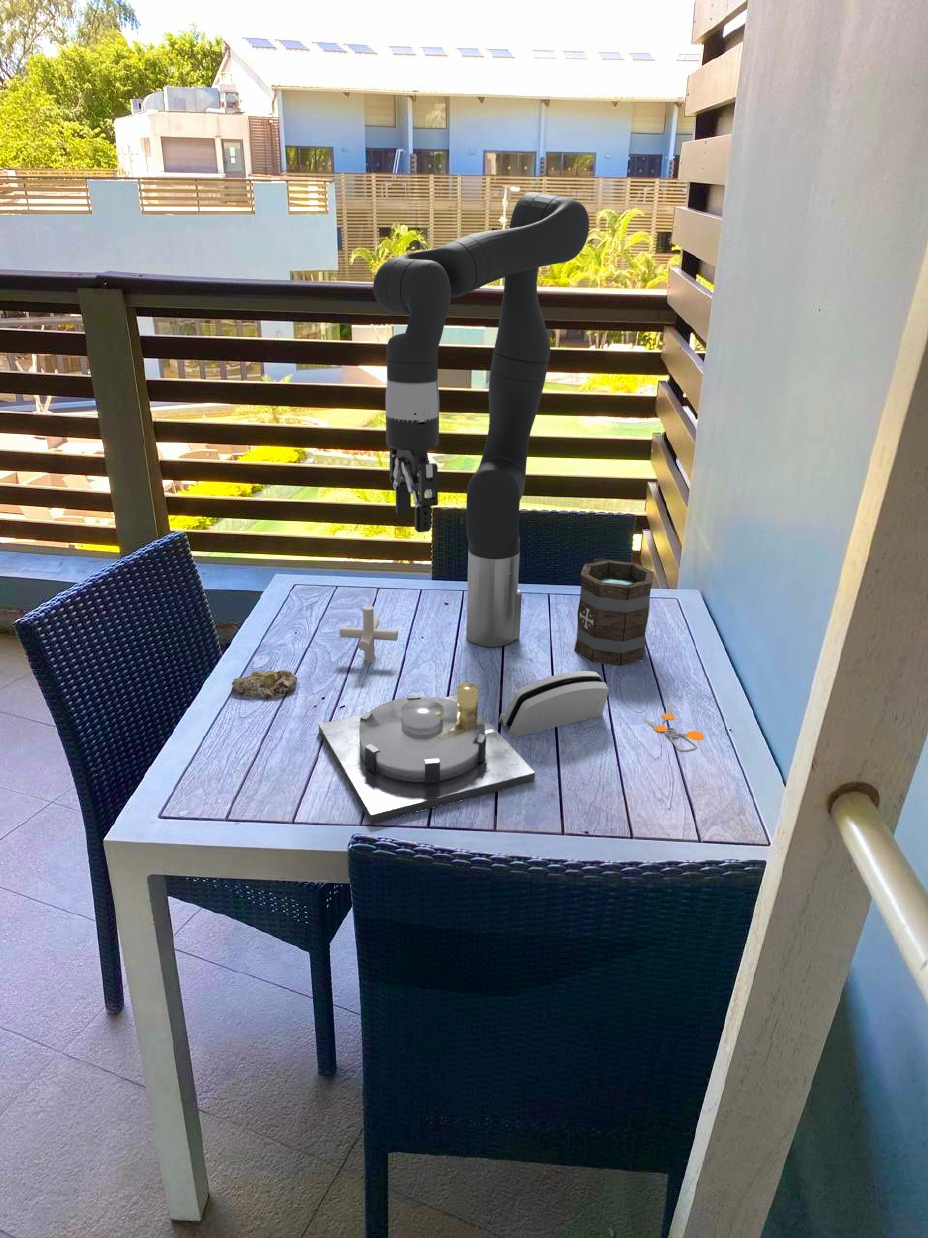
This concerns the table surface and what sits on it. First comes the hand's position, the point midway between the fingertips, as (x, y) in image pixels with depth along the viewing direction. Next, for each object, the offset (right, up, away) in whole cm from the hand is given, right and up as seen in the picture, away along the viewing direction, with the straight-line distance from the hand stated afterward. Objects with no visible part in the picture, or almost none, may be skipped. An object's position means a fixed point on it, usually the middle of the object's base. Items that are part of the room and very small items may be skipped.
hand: (412, 522), depth 128 cm
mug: (+34, -19, +34) cm, 51 cm away
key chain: (+40, -32, +6) cm, 52 cm away
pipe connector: (-9, -22, +25) cm, 34 cm away
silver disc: (+2, -33, -3) cm, 33 cm away
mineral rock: (-25, -26, +15) cm, 39 cm away
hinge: (+22, -31, +7) cm, 38 cm away
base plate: (+2, -34, -3) cm, 34 cm away
